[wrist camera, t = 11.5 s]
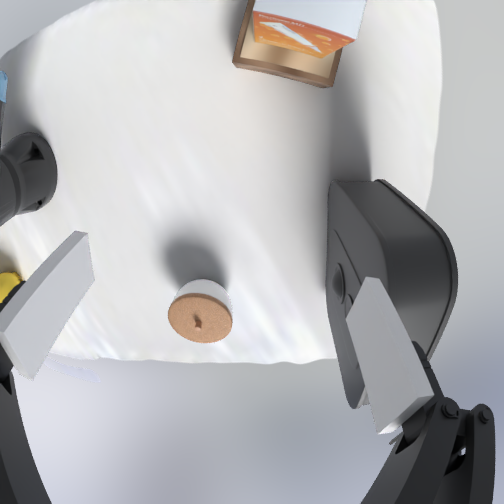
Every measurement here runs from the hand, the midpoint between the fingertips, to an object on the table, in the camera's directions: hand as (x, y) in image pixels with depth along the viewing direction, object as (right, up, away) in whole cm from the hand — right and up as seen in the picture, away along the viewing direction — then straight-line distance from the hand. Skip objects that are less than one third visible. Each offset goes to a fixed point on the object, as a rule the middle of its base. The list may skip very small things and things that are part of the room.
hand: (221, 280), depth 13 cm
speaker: (+17, +3, +33) cm, 37 cm away
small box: (+6, +27, +12) cm, 30 cm away
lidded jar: (-7, -6, +39) cm, 40 cm away
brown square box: (+6, +30, +17) cm, 35 cm away
